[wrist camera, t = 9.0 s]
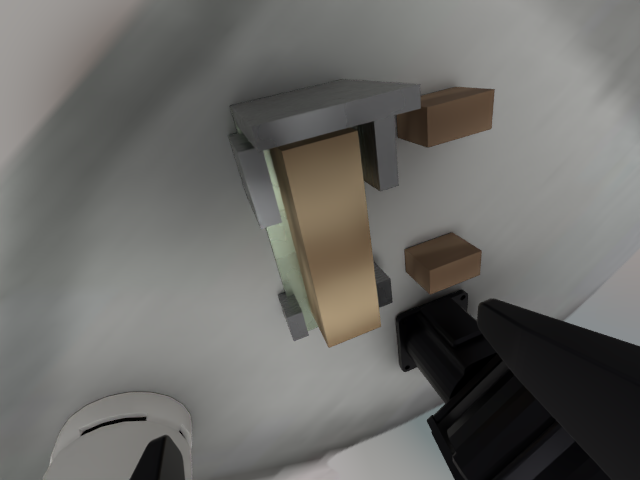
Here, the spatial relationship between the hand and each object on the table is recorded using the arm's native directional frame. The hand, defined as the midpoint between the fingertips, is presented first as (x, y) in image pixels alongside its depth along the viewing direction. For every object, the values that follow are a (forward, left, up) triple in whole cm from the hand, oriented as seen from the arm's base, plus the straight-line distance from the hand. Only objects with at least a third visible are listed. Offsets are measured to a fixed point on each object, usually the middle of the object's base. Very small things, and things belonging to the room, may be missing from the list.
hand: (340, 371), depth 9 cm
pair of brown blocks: (-2, -11, -12) cm, 16 cm away
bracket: (-2, -3, -12) cm, 13 cm away
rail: (-2, -3, -12) cm, 12 cm away
